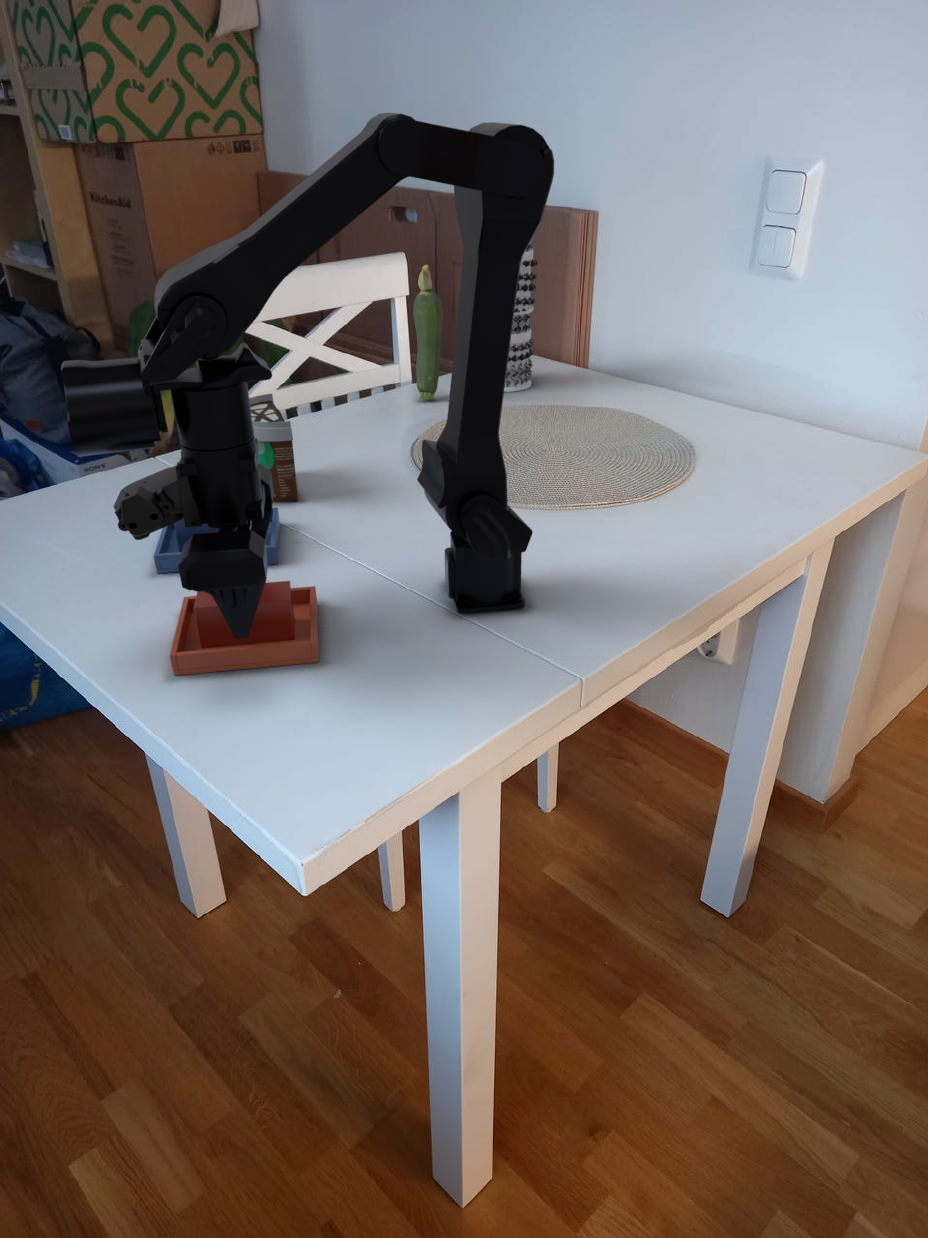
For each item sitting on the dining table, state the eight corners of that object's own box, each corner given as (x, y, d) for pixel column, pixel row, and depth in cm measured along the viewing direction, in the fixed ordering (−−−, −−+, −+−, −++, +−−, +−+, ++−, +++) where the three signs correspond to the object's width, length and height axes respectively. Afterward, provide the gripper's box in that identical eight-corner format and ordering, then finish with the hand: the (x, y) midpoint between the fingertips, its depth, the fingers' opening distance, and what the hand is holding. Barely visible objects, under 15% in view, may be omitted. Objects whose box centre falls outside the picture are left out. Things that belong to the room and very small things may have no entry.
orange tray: (317, 604, 84) (315, 585, 83) (318, 662, 76) (316, 642, 75) (187, 615, 83) (183, 596, 82) (173, 675, 75) (169, 655, 74)
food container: (232, 476, 112) (220, 397, 107) (281, 469, 114) (271, 391, 109) (247, 513, 102) (235, 429, 97) (300, 505, 104) (291, 422, 99)
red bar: (294, 618, 81) (289, 580, 79) (294, 639, 78) (289, 600, 76) (205, 626, 80) (197, 587, 78) (201, 648, 77) (193, 608, 75)
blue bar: (259, 533, 97) (254, 499, 95) (257, 547, 94) (252, 513, 92) (183, 538, 96) (177, 504, 94) (179, 553, 93) (172, 518, 91)
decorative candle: (517, 373, 150) (520, 211, 137) (544, 387, 143) (550, 217, 130) (468, 380, 147) (466, 215, 134) (493, 395, 140) (494, 222, 127)
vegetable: (419, 394, 141) (414, 259, 130) (446, 395, 140) (443, 260, 130) (414, 403, 137) (408, 265, 126) (442, 404, 136) (439, 265, 126)
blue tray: (279, 523, 100) (277, 507, 99) (277, 564, 92) (275, 546, 91) (169, 531, 99) (166, 514, 98) (157, 573, 90) (153, 556, 89)
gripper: (131, 407, 77) (164, 568, 85) (85, 491, 61) (132, 679, 69) (262, 400, 78) (283, 559, 86) (251, 480, 62) (277, 665, 70)
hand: (245, 609), depth 78 cm, fingers open, 9 cm apart
